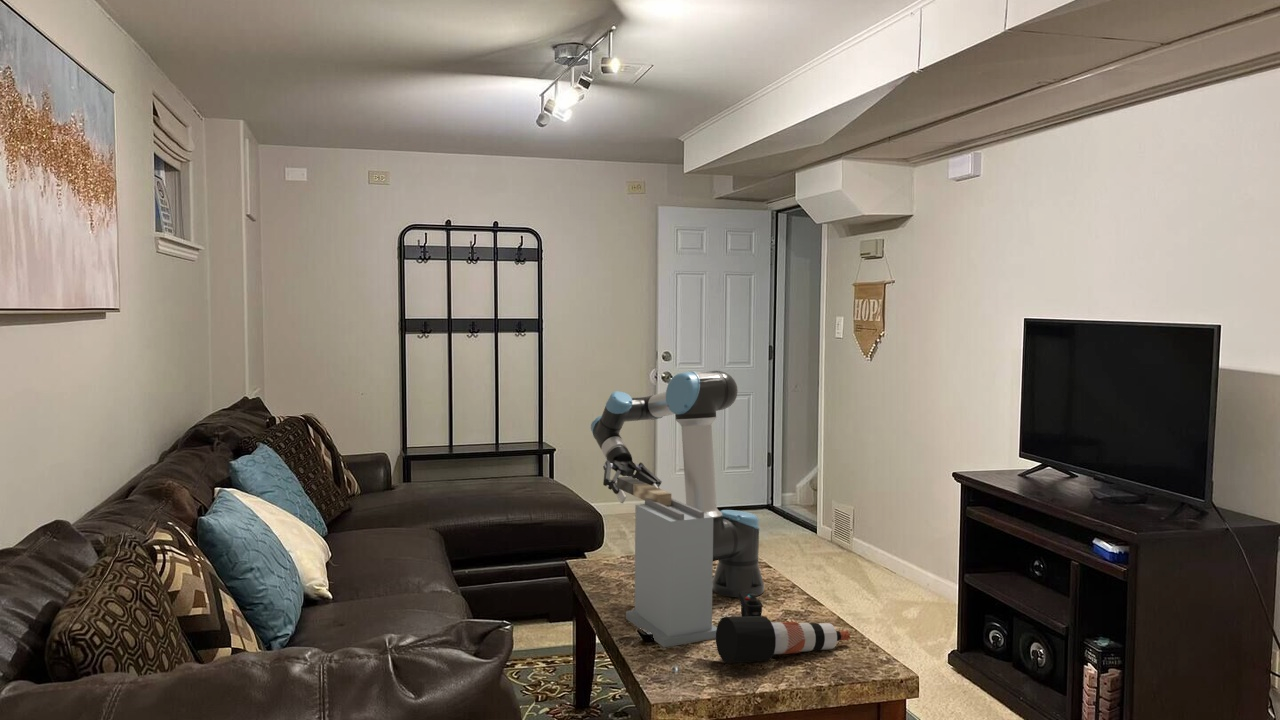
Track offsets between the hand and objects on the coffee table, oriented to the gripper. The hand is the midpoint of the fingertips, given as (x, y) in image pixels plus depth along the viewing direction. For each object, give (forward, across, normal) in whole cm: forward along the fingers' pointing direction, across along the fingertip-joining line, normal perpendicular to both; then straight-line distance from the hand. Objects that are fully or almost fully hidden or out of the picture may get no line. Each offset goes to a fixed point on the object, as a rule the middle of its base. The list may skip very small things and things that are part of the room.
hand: (642, 500), depth 261 cm
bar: (+13, +13, +14) cm, 23 cm away
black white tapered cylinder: (+68, -3, +15) cm, 70 cm away
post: (+45, +11, -2) cm, 46 cm away
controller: (+53, -6, +5) cm, 53 cm away
